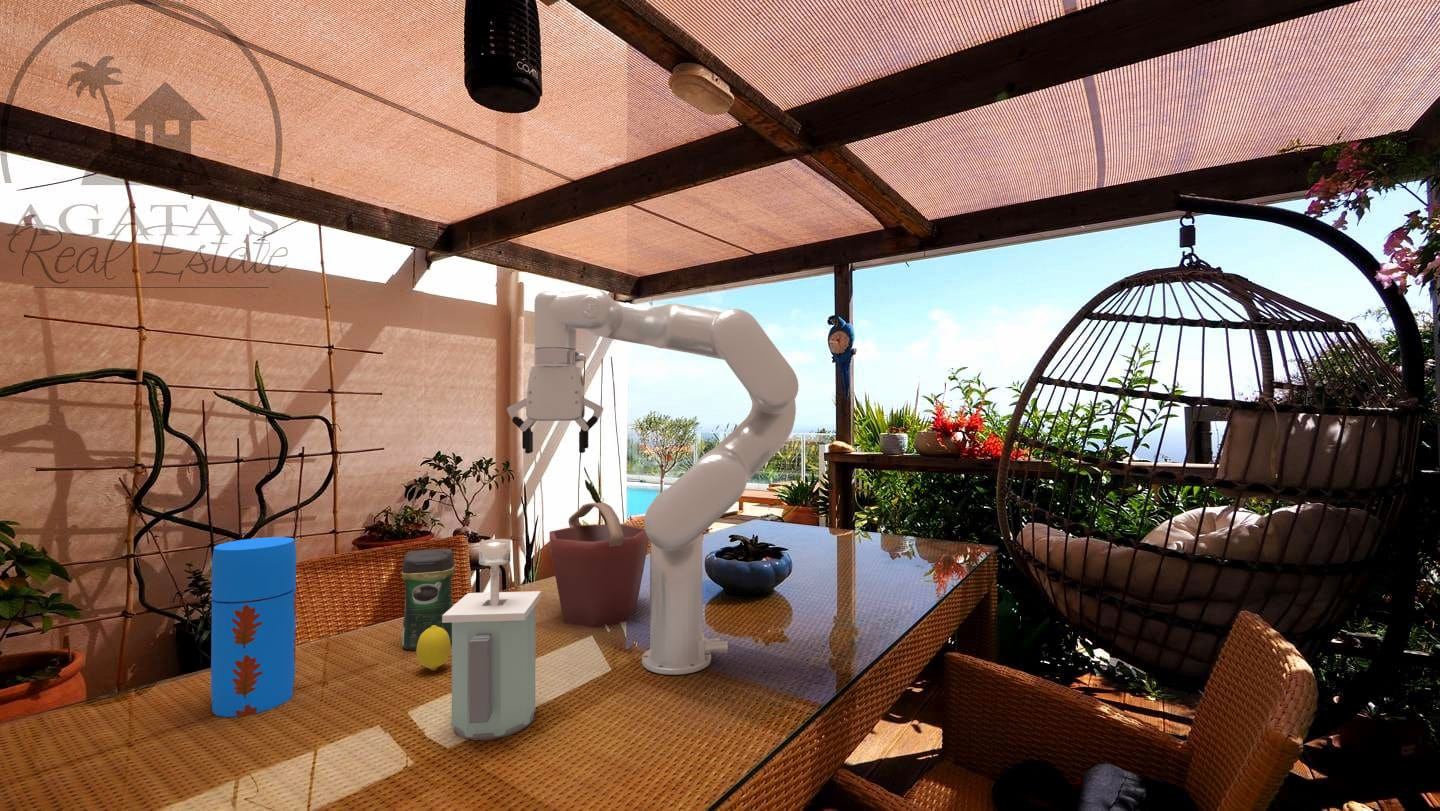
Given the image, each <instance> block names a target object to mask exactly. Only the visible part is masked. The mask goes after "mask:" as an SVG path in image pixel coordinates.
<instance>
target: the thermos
mask: <svg viewBox="0 0 1440 811" xmlns="http://www.w3.org/2000/svg"><path fill="white" fill-rule="evenodd" d="M211 558H212V559H211V634H210V636H211V639H210V640H211V641H210V642H211V643H210V644H211V646H210V648H211V649H210V651H211V654H210V657H211V659H210V691H211V692H210V693H211V708H212V710H211V712H212V714H214V715H216V716H219V717H225V718H229V717H231V718H232V717H243V716H248V715H255V714H259V713H262V712H265V711H268V710H271V709H273V708H276V707H279V706H281V705H283V704H285V703H286V702H288V701H289V700H291V698H292V697H293V696H294V694H295V682H296V681H295V680H296V678H295V677H296V640H297V639H296V638H297V637H296V630H297V628H296V622H297V619H296V618H297V616H296V615H297V613H296V612H297V606H296V604H297V603H296V602H297V600H296V599H297V592H296V591H297V549H296V541H295V539H294V538H292V537H287V536H272V537H271V536H270V537H269V536H268V537H257V538H246V539H239V540H233V541H229V542H224V543H219V544H217V545H215V546H213V551H212V557H211Z"/></svg>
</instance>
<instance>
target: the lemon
mask: <svg viewBox="0 0 1440 811" xmlns="http://www.w3.org/2000/svg"><path fill="white" fill-rule="evenodd" d="M451 650H452V642H450V638H449V635H448V633H447V632H446V631H445V630H444V629H443V628H441V627H437V626H436V625H432V626H431V627H430V628H428V629H426V630H425V631H424V632H423V633H422V634H421V635H420V637H419V640H418V643H417V649H415V651H416V653H415V654H416V658H417V661H418V663H419V664H420V665H421V666H422V667H424V668H426V669H429V670H430V671H433V672H435V671H436V670H437V669H438V668H439V667H440V666H442V665H444V663H445V662H447V660H448V658H449V656H450V654H451Z"/></svg>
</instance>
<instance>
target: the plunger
mask: <svg viewBox="0 0 1440 811" xmlns="http://www.w3.org/2000/svg"><path fill="white" fill-rule="evenodd" d="M510 562H511V540H510V539H508V538H507V539H506V538H492V539H485V540H482V541H479V542H478V564H479V565H481V566H489V567H490V592H491V595H490V606H494V605H499V592H500V566H501V565H506V564H508V563H510Z"/></svg>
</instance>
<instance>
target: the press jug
mask: <svg viewBox="0 0 1440 811" xmlns="http://www.w3.org/2000/svg"><path fill="white" fill-rule="evenodd" d="M490 595H491V591H490V592H468V593H467V594H465V595H463V597H462V598H461V599H459V600H458V601H457V602H456V603H455V604H454V605H453V607H451V608H450V609H449V610H448V611H447V612H446V613H445V614H443V615H442V623H450V622H452V642H451V728H452V729H453V731H454V733H455V734H456V735H457V736H459V737H460V738H462V739H467V740H472V741H487V740H489V741H490V740H495V739H496V740H497V739H501V738H504V737H508V736H511V735H513V734H516V733H519V732H520V731H523V730H524V729H525V728H527V727H528V726H529V725H530V724H531V723H532V722H533V720H534V718H535V711H536V605H537V604H538V603H539V601H540V600H541V598H542V590H540V591H539V590H538V591H537V590H536V591H534V590H532V591H531V590H530V591H503V592H502V591H499V605H494V606H490Z"/></svg>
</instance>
